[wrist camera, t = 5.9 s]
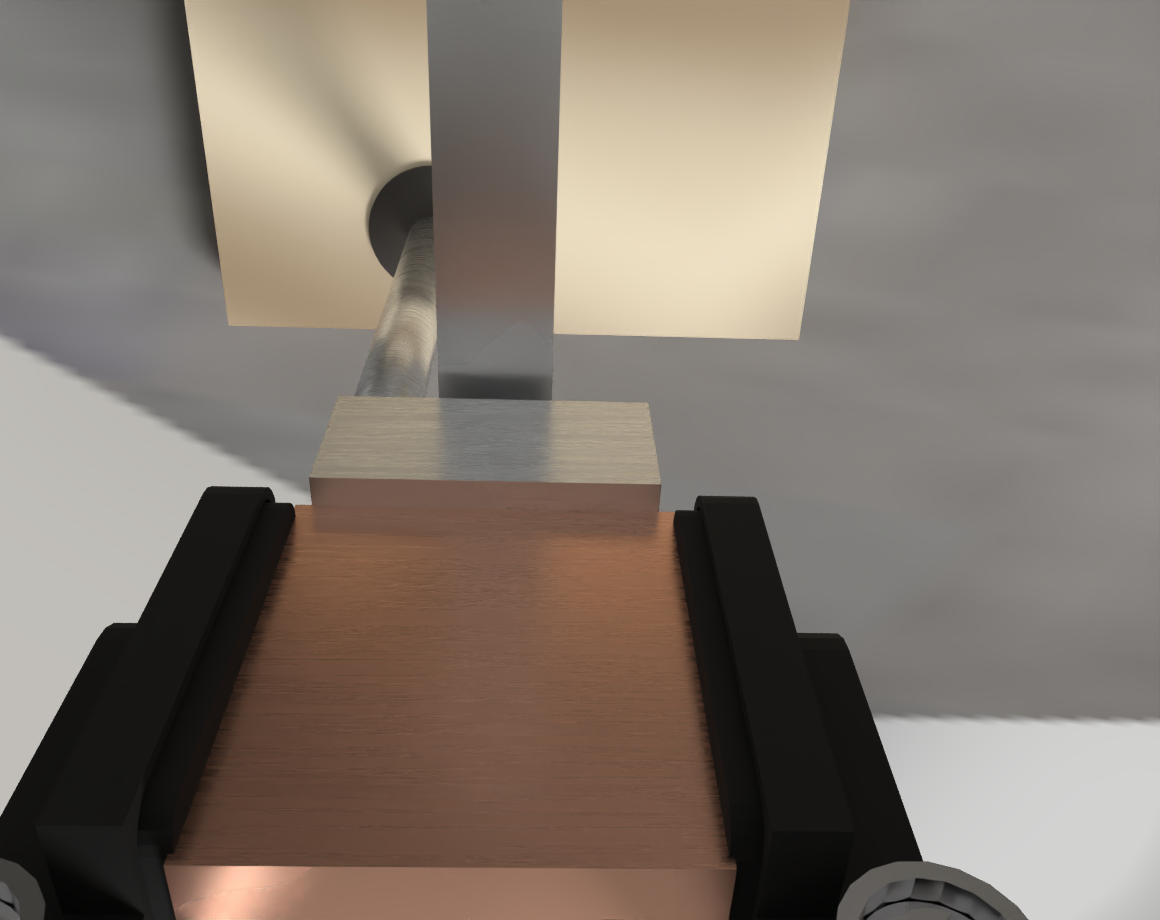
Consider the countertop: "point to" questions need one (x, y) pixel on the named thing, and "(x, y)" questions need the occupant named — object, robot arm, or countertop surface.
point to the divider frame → (494, 193)
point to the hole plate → (585, 158)
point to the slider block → (464, 672)
